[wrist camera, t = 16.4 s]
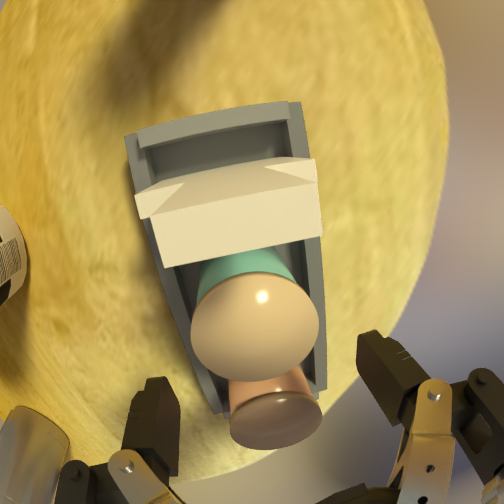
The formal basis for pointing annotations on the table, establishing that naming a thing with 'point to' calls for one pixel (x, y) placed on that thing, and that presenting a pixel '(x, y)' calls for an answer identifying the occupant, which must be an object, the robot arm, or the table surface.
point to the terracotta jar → (273, 411)
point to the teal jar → (251, 317)
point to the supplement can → (11, 256)
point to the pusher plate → (233, 209)
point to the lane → (215, 156)
